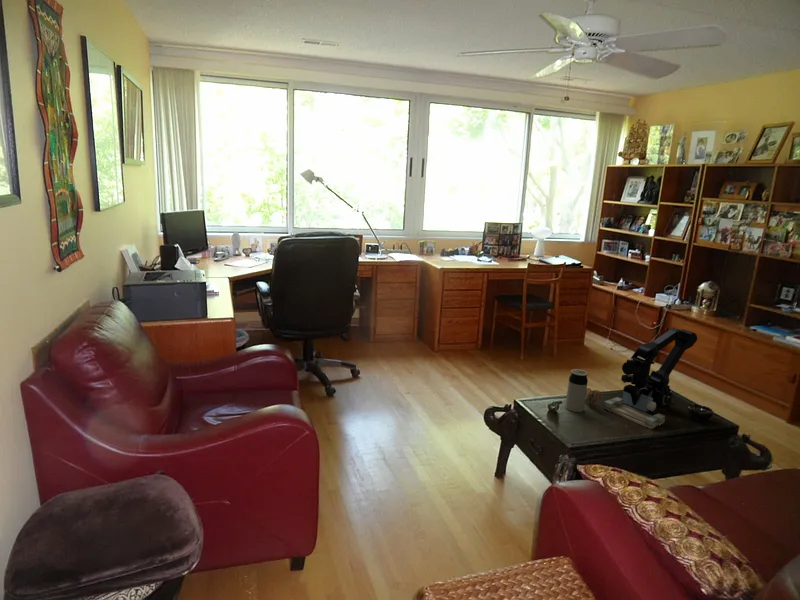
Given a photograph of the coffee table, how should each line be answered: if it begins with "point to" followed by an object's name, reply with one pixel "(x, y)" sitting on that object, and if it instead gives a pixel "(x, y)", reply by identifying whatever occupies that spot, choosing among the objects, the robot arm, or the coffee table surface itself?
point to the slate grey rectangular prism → (640, 402)
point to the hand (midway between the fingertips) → (637, 403)
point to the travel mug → (576, 390)
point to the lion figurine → (593, 396)
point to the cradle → (633, 413)
